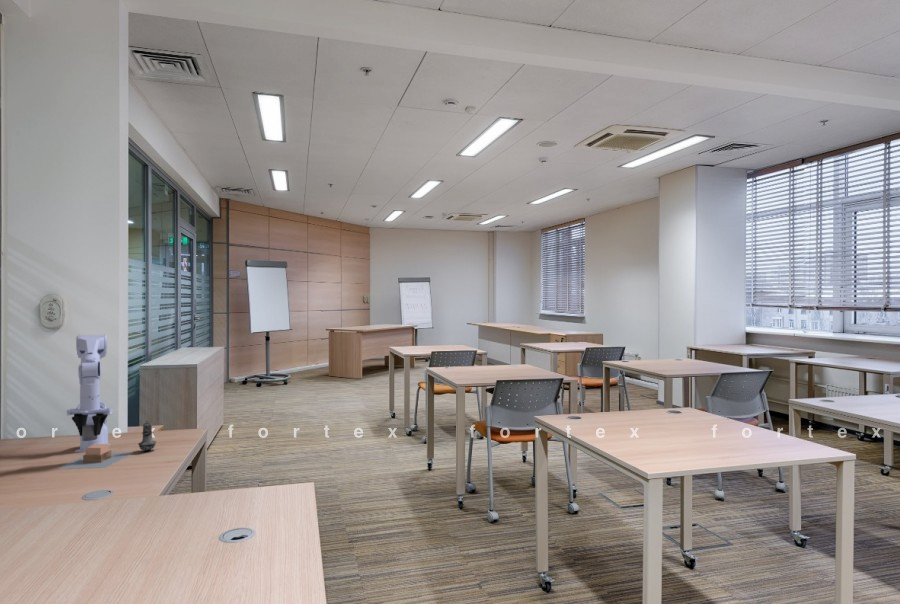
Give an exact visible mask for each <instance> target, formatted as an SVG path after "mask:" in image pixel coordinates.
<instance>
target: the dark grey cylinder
mask: <svg viewBox="0 0 900 604" xmlns="http://www.w3.org/2000/svg"><path fill="white" fill-rule="evenodd" d="M96 439H97V436H95V435H94V424H86V425H83V426H82V441H91V440H96Z"/></svg>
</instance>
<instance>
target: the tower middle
mask: <svg viewBox="0 0 900 604" xmlns="http://www.w3.org/2000/svg"><path fill="white" fill-rule="evenodd" d="M109 444H110V443H108V444H94V445H91V446H89V447H87V448H86V452H85V455H101V454H103V453H105V452H108V451H109V450H110V445H109Z"/></svg>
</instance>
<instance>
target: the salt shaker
mask: <svg viewBox="0 0 900 604" xmlns="http://www.w3.org/2000/svg"><path fill="white" fill-rule="evenodd" d="M152 426H153V424H152V423H151V422H149V420H148V419H147V420H146V421H145V422H144V423H143V425H142V432H141V434H142V440H141V442H139V443H137V444H138V447H139V449H140V450H141V451H140V454H148V453H153V452H155V449H154V448H155V446H156V443H157V441H156V440H154V439H153V433H154V432H153V428H152Z"/></svg>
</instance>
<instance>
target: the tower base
mask: <svg viewBox="0 0 900 604" xmlns="http://www.w3.org/2000/svg"><path fill="white" fill-rule="evenodd" d="M111 453H112V450H110V449H109V451H108V452H105V453H103V454H101V455H86V454H83V455H82V457H83V463H99V462H103V461H105V460H107V459H109V458H111Z"/></svg>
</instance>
